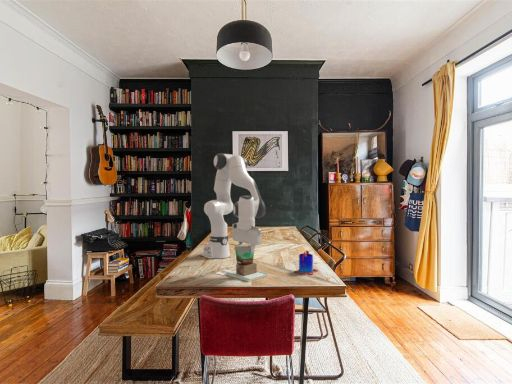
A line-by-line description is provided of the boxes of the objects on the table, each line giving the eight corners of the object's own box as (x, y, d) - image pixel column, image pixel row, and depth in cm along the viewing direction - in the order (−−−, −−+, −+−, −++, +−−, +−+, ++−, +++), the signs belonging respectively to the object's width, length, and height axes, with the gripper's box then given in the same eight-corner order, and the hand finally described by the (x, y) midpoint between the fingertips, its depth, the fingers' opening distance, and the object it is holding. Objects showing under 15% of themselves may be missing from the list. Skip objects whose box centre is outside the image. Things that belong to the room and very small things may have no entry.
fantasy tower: (312, 275, 168) (312, 253, 167) (292, 272, 173) (292, 251, 173) (319, 270, 178) (319, 249, 178) (299, 267, 184) (299, 247, 183)
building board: (226, 274, 170) (226, 271, 170) (245, 269, 179) (245, 267, 179) (248, 281, 157) (248, 279, 157) (267, 276, 167) (267, 273, 167)
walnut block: (236, 273, 167) (236, 264, 167) (248, 270, 174) (248, 261, 174) (244, 276, 163) (244, 266, 163) (256, 272, 169) (256, 263, 169)
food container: (240, 267, 162) (239, 248, 162) (234, 264, 167) (234, 246, 167) (259, 263, 169) (259, 245, 168) (253, 261, 174) (253, 243, 174)
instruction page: (214, 273, 172) (214, 272, 172) (225, 269, 179) (225, 269, 179) (223, 275, 169) (223, 274, 169) (233, 271, 176) (233, 270, 176)
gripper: (264, 226, 162) (264, 253, 163) (238, 223, 177) (239, 247, 177) (256, 228, 158) (256, 255, 158) (230, 224, 173) (230, 249, 173)
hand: (246, 251), depth 168 cm, fingers closed on food container, 6 cm apart
